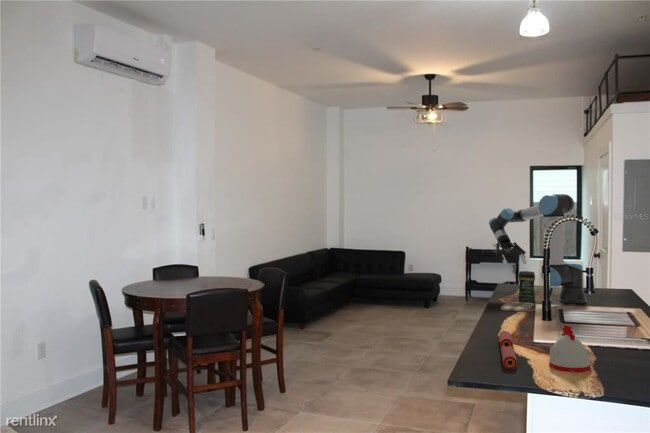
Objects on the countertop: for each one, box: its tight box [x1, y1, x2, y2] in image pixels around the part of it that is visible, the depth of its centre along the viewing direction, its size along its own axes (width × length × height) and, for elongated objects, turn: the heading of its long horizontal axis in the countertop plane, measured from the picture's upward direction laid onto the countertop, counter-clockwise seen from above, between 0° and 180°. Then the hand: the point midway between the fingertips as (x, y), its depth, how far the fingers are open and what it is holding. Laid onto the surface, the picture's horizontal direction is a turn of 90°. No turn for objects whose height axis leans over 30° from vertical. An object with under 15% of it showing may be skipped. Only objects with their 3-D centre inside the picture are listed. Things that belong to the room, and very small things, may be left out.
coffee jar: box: [517, 270, 536, 303], centre depth 342 cm, size 10×8×19 cm
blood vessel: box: [498, 330, 518, 370], centre depth 227 cm, size 42×5×5 cm, turn 165°
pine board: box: [500, 301, 535, 312], centre depth 324 cm, size 14×20×2 cm
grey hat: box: [548, 325, 591, 373], centre depth 208 cm, size 14×14×15 cm
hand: (515, 263), depth 352 cm, fingers open, 13 cm apart
